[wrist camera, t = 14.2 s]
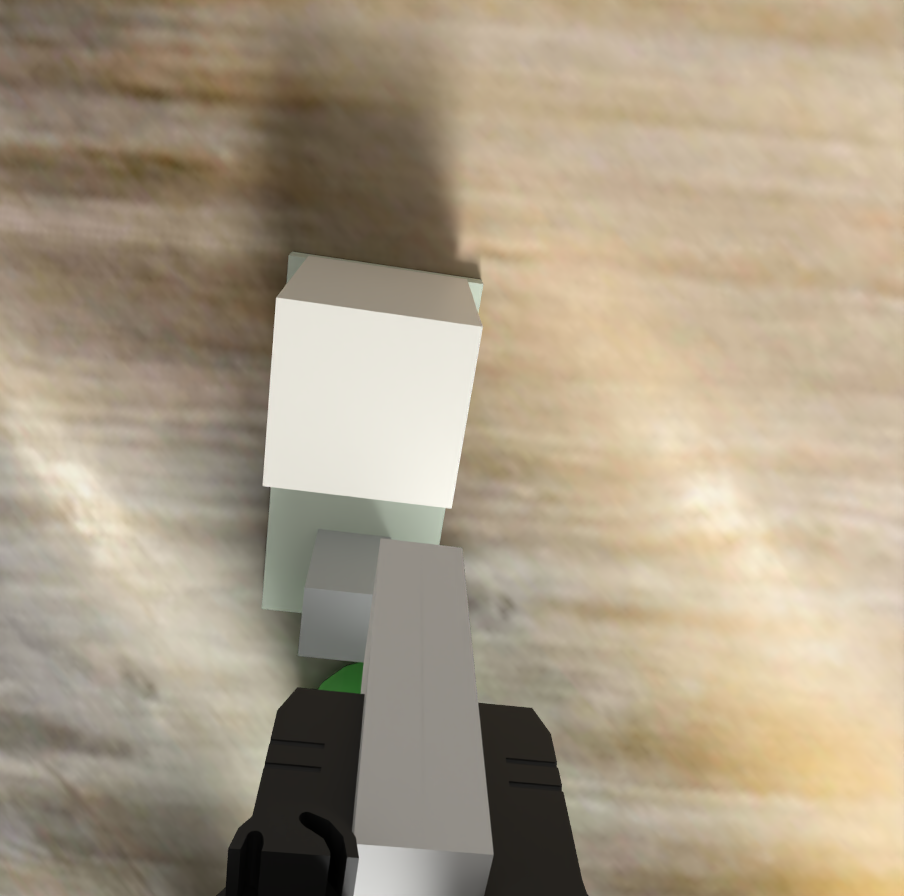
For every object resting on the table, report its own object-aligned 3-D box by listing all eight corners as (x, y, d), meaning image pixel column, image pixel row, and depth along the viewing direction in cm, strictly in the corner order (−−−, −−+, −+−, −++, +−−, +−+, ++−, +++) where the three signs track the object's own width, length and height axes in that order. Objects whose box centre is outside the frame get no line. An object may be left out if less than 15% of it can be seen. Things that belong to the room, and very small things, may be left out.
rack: (265, 597, 39) (240, 675, 34) (292, 251, 33) (267, 278, 28) (425, 614, 40) (426, 693, 35) (481, 279, 34) (494, 310, 28)
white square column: (295, 406, 34) (262, 485, 27) (308, 255, 32) (276, 297, 24) (443, 425, 35) (451, 508, 27) (467, 279, 32) (482, 327, 25)
